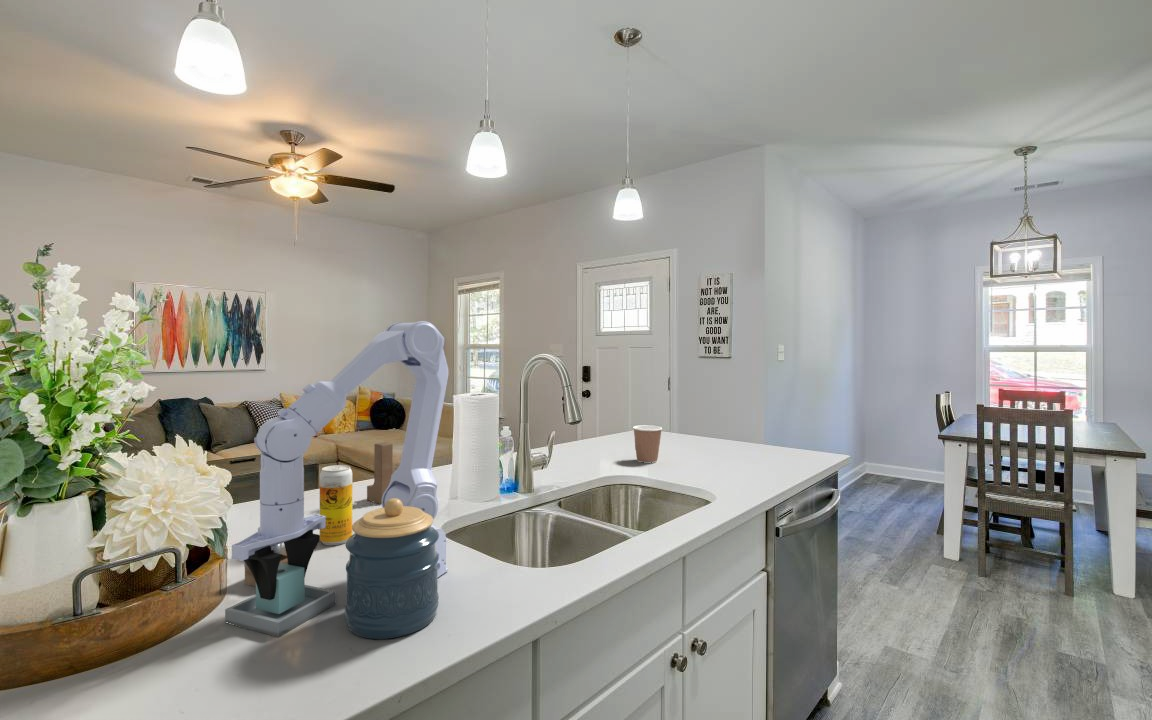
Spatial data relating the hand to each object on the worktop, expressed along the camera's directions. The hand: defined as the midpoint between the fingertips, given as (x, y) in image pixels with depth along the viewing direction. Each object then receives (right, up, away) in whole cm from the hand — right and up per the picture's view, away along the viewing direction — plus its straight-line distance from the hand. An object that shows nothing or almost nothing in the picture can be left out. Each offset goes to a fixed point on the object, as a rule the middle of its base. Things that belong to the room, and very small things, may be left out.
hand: (282, 590), depth 80 cm
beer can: (-5, -3, +30) cm, 30 cm away
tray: (0, -3, 0) cm, 3 cm away
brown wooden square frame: (-8, -3, +11) cm, 14 cm away
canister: (+17, -4, -1) cm, 17 cm away
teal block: (0, -2, 0) cm, 2 cm away
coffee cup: (+69, -2, +110) cm, 130 cm away
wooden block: (-7, -2, +58) cm, 58 cm away
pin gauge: (-8, -3, +11) cm, 14 cm away
